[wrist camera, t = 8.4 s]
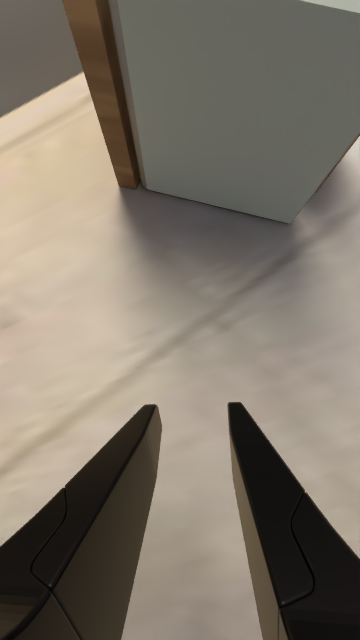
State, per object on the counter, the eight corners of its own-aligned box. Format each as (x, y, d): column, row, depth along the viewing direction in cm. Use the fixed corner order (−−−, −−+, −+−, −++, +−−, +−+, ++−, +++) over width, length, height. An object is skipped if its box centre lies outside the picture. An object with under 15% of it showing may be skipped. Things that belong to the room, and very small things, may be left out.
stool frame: (311, 224, 23) (480, 37, 10) (118, 185, 23) (49, -40, 11) (324, 128, 25) (483, -134, 12) (145, 93, 25) (113, -195, 12)
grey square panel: (290, 223, 23) (437, 29, 10) (138, 187, 23) (92, -44, 10) (293, 207, 23) (441, -2, 10) (144, 171, 23) (105, -72, 11)
